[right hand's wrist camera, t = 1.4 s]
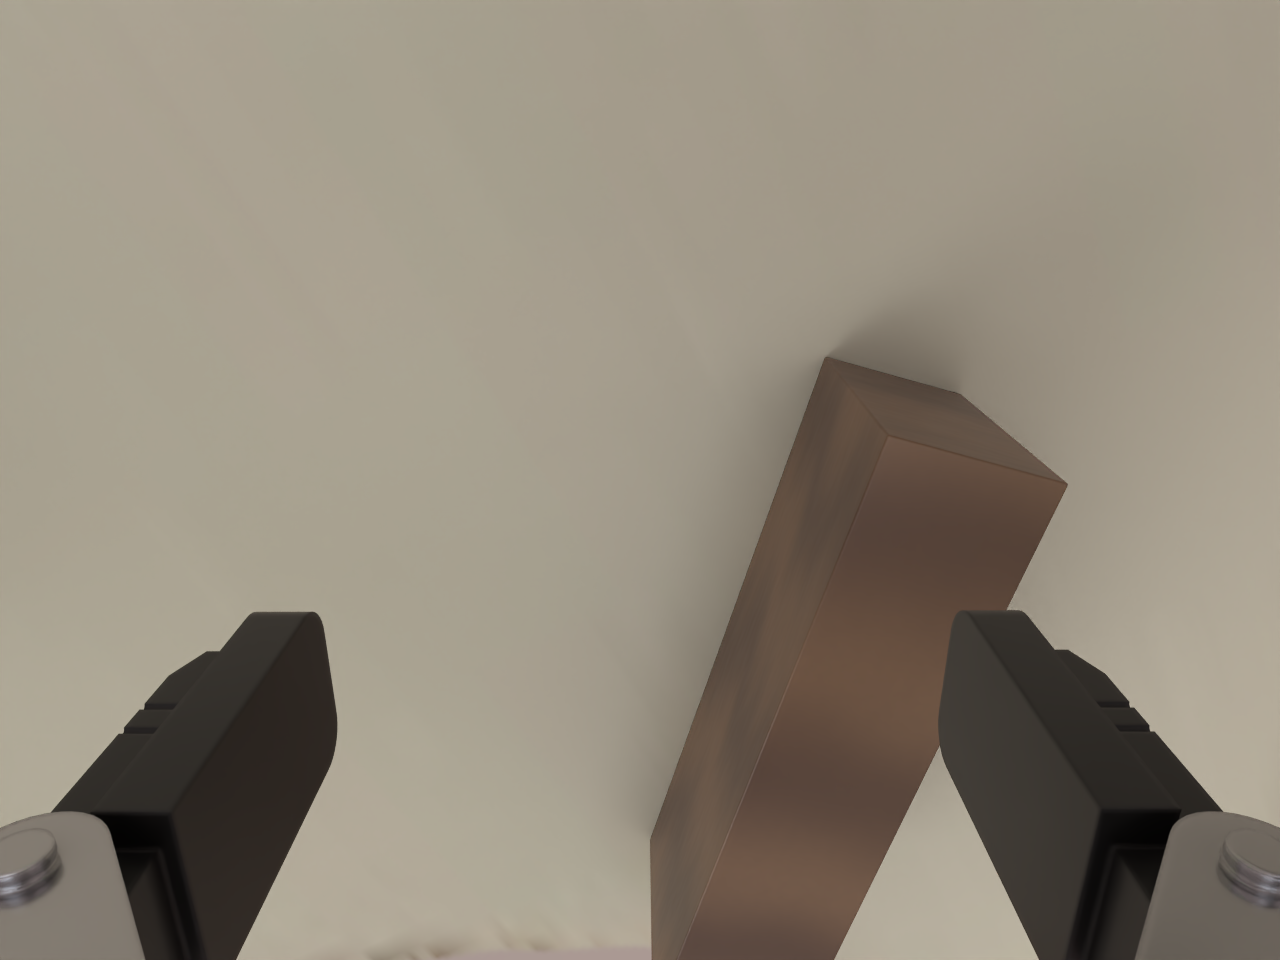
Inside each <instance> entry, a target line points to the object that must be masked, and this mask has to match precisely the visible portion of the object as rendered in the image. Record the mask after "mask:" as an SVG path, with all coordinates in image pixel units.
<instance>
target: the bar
mask: <svg viewBox="0 0 1280 960" xmlns="http://www.w3.org/2000/svg"><path fill="white" fill-rule="evenodd" d="M1067 485H1068V484H1067V483H1066V482H1065V481H1064V480H1062V479H1061V478H1060V477H1059V476H1058V475H1056V474H1055V473H1054V472H1053V471H1052V470H1051V469H1049V468H1048V467H1047V466H1046V465H1045V464H1043V463H1042V462H1041V461H1040V460H1039V459H1037V458H1036V457H1035V456H1034V455H1033V454H1031V453H1030V452H1029V451H1028V450H1027V449H1025V448H1024V447H1023V446H1022V445H1021V444H1019V443H1018V442H1017V441H1016V440H1015V439H1013V438H1012V437H1011V436H1010V435H1009V434H1007V433H1006V432H1005V431H1004V430H1003V429H1001V428H1000V427H999V426H998V425H997V424H996V423H994V422H993V421H992V420H991V419H990V418H988V417H987V416H986V415H985V414H984V413H982V412H981V411H980V410H979V409H978V408H976V407H975V406H974V405H973V404H972V403H970V402H969V401H968V400H967V399H966V398H964V397H963V396H962V395H961V394H957V393H954V392H950V391H946V390H943V389H939V388H936V387H932V386H928V385H925V384H921V383H918V382H914V381H910V380H907V379H903V378H900V377H896V376H893V375H889V374H885V373H882V372H878V371H875V370H871V369H867V368H864V367H860V366H857V365H853V364H849V363H846V362H842V361H839V360H835V359H832V358H828V357H826V358H825V359H824V362H823V365H822V367H821V370H820V373H819V376H818V378H817V381H816V384H815V387H814V389H813V392H812V395H811V398H810V400H809V403H808V406H807V409H806V412H805V414H804V417H803V420H802V423H801V425H800V428H799V431H798V434H797V436H796V439H795V442H794V445H793V447H792V450H791V453H790V456H789V458H788V461H787V464H786V467H785V469H784V472H783V475H782V478H781V481H780V483H779V486H778V489H777V492H776V494H775V497H774V500H773V503H772V505H771V508H770V511H769V514H768V516H767V519H766V522H765V525H764V527H763V530H762V533H761V536H760V538H759V541H758V544H757V547H756V549H755V552H754V555H753V558H752V561H751V563H750V566H749V569H748V572H747V574H746V577H745V580H744V583H743V585H742V588H741V591H740V594H739V596H738V599H737V602H736V605H735V607H734V610H733V613H732V616H731V618H730V621H729V624H728V627H727V630H726V632H725V635H724V638H723V641H722V643H721V646H720V649H719V652H718V654H717V657H716V660H715V663H714V665H713V668H712V671H711V674H710V676H709V679H708V682H707V685H706V687H705V690H704V693H703V696H702V698H701V701H700V704H699V707H698V710H697V712H696V715H695V718H694V721H693V723H692V726H691V729H690V732H689V734H688V737H687V740H686V743H685V745H684V748H683V751H682V754H681V756H680V759H679V762H678V765H677V767H676V770H675V773H674V776H673V779H672V781H671V784H670V787H669V790H668V792H667V795H666V798H665V801H664V803H663V806H662V809H661V812H660V814H659V817H658V820H657V823H656V825H655V828H654V831H653V834H652V836H651V839H650V863H651V940H652V960H834V958H835V956H836V954H837V952H838V950H839V948H840V946H841V944H842V942H843V940H844V938H845V936H846V934H847V932H848V930H849V928H850V926H851V924H852V922H853V920H854V918H855V916H856V914H857V912H858V910H859V908H860V906H861V904H862V902H863V900H864V898H865V896H866V894H867V892H868V889H869V887H870V885H871V883H872V881H873V879H874V877H875V875H876V873H877V871H878V869H879V867H880V865H881V863H882V861H883V859H884V857H885V855H886V853H887V851H888V849H889V847H890V845H891V843H892V841H893V839H894V837H895V835H896V833H897V831H898V829H899V827H900V825H901V822H902V820H903V818H904V816H905V814H906V812H907V810H908V808H909V806H910V804H911V802H912V800H913V798H914V796H915V794H916V792H917V790H918V788H919V786H920V784H921V782H922V780H923V778H924V776H925V774H926V772H927V770H928V768H929V766H930V764H931V762H932V760H933V758H934V756H935V753H936V751H937V749H938V747H939V745H940V742H939V733H938V715H939V707H940V700H941V694H942V687H943V680H944V674H945V667H946V660H947V653H948V647H949V640H950V633H951V627H952V623H953V620H954V618H955V616H956V614H957V613H958V612H959V611H962V610H1006V609H1007V607H1008V605H1009V603H1010V601H1011V599H1012V597H1013V595H1014V593H1015V591H1016V589H1017V587H1018V585H1019V583H1020V581H1021V579H1022V577H1023V575H1024V573H1025V571H1026V569H1027V567H1028V565H1029V563H1030V561H1031V559H1032V557H1033V555H1034V553H1035V551H1036V549H1037V546H1038V544H1039V542H1040V540H1041V538H1042V536H1043V534H1044V532H1045V530H1046V528H1047V526H1048V524H1049V522H1050V520H1051V518H1052V516H1053V514H1054V512H1055V510H1056V508H1057V506H1058V504H1059V502H1060V500H1061V498H1062V496H1063V494H1064V492H1065V490H1066V488H1067Z"/></svg>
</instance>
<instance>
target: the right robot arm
mask: <svg viewBox="0 0 1280 960" xmlns="http://www.w3.org/2000/svg"><path fill="white" fill-rule="evenodd" d="M938 733H939V742H940V748H941V752H942V756H943V759H944V762H945V765H946V767H947V769H948V771H949V773H950V775H951V778H952V780H953V782H954V784H955V786H956V788H957V790H958V792H959V794H960V796H961V798H962V800H963V802H964V805H965V807H966V809H967V811H968V813H969V815H970V817H971V819H972V821H973V823H974V825H975V827H976V829H977V832H978V834H979V836H980V838H981V840H982V842H983V844H984V846H985V848H986V850H987V852H988V854H989V857H990V859H991V861H992V863H993V865H994V867H995V869H996V871H997V873H998V875H999V877H1000V879H1001V881H1002V884H1003V886H1004V888H1005V890H1006V892H1007V894H1008V896H1009V898H1010V900H1011V902H1012V904H1013V906H1014V908H1015V911H1016V913H1017V915H1018V917H1019V919H1020V921H1021V923H1022V925H1023V927H1024V929H1025V931H1026V933H1027V935H1028V938H1029V940H1030V942H1031V944H1032V946H1033V948H1034V950H1035V952H1036V954H1037V956H1038V958H1039V960H1280V828H1279V827H1276V826H1274V825H1271V824H1269V823H1266V822H1264V821H1261V820H1258V819H1254V818H1251V817H1248V816H1243V815H1239V814H1234V813H1227V812H1223V811H1222V810H1221V809H1220V807H1219V806H1218V805H1217V804H1216V803H1215V802H1214V800H1213V799H1212V798H1211V797H1210V796H1209V795H1208V793H1207V792H1206V791H1205V790H1204V789H1203V788H1202V786H1201V785H1200V784H1199V783H1198V782H1197V781H1196V779H1195V778H1194V777H1193V776H1192V775H1191V773H1190V772H1189V771H1188V770H1187V769H1186V768H1185V766H1184V765H1183V764H1182V763H1181V762H1180V761H1179V759H1178V758H1177V757H1176V756H1175V755H1174V754H1173V752H1172V751H1171V750H1170V749H1169V748H1168V747H1167V745H1166V744H1165V743H1164V742H1163V741H1162V740H1161V738H1160V737H1159V736H1158V735H1157V734H1156V733H1155V732H1150V729H1149V724H1148V723H1147V722H1146V721H1145V720H1144V719H1143V717H1142V716H1141V715H1140V714H1139V713H1138V712H1137V710H1136V709H1135V708H1130V706H1129V701H1128V700H1127V699H1126V698H1125V696H1124V695H1123V694H1122V693H1121V692H1120V691H1119V689H1118V688H1117V687H1116V686H1115V685H1114V684H1113V682H1112V681H1111V680H1110V679H1109V678H1108V676H1107V675H1106V674H1105V673H1103V672H1102V671H1100V670H1098V669H1097V668H1095V667H1094V666H1092V665H1091V664H1089V663H1088V662H1086V661H1084V660H1083V659H1081V658H1080V657H1078V656H1077V655H1075V654H1074V653H1072V652H1070V651H1069V650H1054V648H1053V647H1052V646H1051V645H1050V643H1049V642H1048V641H1047V640H1046V638H1045V637H1044V636H1043V635H1042V633H1041V632H1040V631H1039V630H1038V628H1037V627H1036V626H1035V625H1034V623H1033V622H1032V621H1031V620H1030V618H1029V617H1028V616H1027V615H1026V614H1025V613H1024V612H1022V611H1019V610H962V611H959V612H958V613H957V614H956V616H955V618H954V620H953V623H952V627H951V633H950V640H949V647H948V653H947V660H946V667H945V674H944V680H943V687H942V694H941V700H940V707H939V715H938ZM336 739H337V713H336V706H335V699H334V693H333V686H332V679H331V673H330V666H329V660H328V653H327V646H326V640H325V633H324V628H323V624H322V621H321V619H320V617H319V615H318V614H317V613H315V612H253V613H252V614H250V615H249V616H248V617H247V618H246V619H245V621H244V622H243V623H242V624H241V626H240V627H239V628H238V629H237V631H236V632H235V633H234V634H233V636H232V637H231V638H230V639H229V641H228V642H227V643H226V644H225V646H224V647H223V648H222V649H221V650H220V651H207V652H205V653H204V654H202V655H200V656H199V657H197V658H196V659H194V660H193V661H191V662H190V663H188V664H186V665H185V666H183V667H182V668H180V669H179V670H177V671H175V672H174V673H172V674H171V675H169V676H168V677H167V679H166V680H165V681H164V682H163V683H162V684H161V685H160V687H159V688H158V689H157V690H156V691H155V692H154V694H153V695H152V696H151V697H150V698H149V699H148V701H147V702H146V703H145V707H144V710H139V711H138V712H137V713H136V714H135V716H134V717H133V718H132V719H131V720H130V721H129V723H128V724H127V725H126V726H125V727H124V733H123V734H118V735H117V736H116V738H115V739H114V740H113V741H112V742H111V743H110V745H109V746H108V747H107V748H106V749H105V750H104V751H103V753H102V754H101V755H100V756H99V757H98V758H97V760H96V761H95V762H94V763H93V764H92V765H91V767H90V768H89V769H88V770H87V771H86V772H85V773H84V775H83V776H82V777H81V778H80V779H79V780H78V782H77V783H76V784H75V785H74V786H73V787H72V789H71V790H70V791H69V792H68V793H67V794H66V796H65V797H64V798H63V799H62V800H61V801H60V802H59V804H58V805H57V806H56V807H55V808H54V809H53V811H52V812H51V813H46V814H41V815H37V816H32V817H29V818H26V819H22V820H19V821H16V822H14V823H11V824H9V825H6V826H4V827H1V828H0V960H236V959H237V956H238V954H239V952H240V950H241V948H242V946H243V944H244V942H245V940H246V938H247V936H248V934H249V932H250V930H251V928H252V926H253V924H254V922H255V920H256V917H257V915H258V913H259V911H260V909H261V907H262V905H263V903H264V901H265V899H266V897H267V895H268V893H269V891H270V889H271V887H272V885H273V883H274V881H275V878H276V876H277V874H278V872H279V870H280V868H281V866H282V864H283V862H284V860H285V858H286V856H287V854H288V852H289V850H290V848H291V846H292V844H293V842H294V839H295V837H296V835H297V833H298V831H299V829H300V827H301V825H302V823H303V821H304V819H305V817H306V815H307V813H308V811H309V809H310V807H311V805H312V803H313V800H314V798H315V796H316V794H317V792H318V790H319V788H320V786H321V784H322V782H323V780H324V778H325V776H326V774H327V772H328V770H329V767H330V765H331V762H332V759H333V756H334V752H335V746H336Z"/></svg>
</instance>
